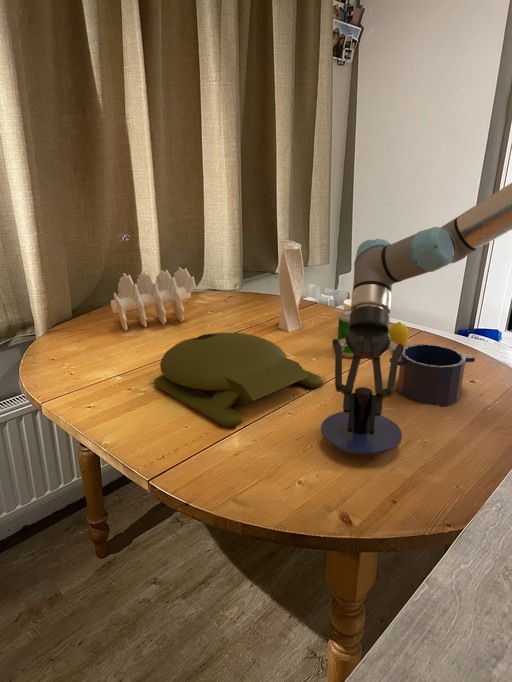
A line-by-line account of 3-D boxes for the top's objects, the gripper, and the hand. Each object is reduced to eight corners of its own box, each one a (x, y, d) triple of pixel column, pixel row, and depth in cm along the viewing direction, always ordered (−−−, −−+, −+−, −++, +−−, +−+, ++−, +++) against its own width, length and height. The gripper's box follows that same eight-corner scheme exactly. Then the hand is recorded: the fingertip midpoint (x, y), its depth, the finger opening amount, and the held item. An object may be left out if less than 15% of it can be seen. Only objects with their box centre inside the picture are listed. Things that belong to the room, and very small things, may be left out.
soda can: (334, 357, 135) (336, 315, 131) (339, 347, 142) (341, 307, 138) (362, 360, 133) (365, 318, 129) (365, 350, 140) (369, 309, 136)
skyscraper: (288, 334, 153) (290, 242, 143) (272, 327, 158) (273, 238, 148) (306, 328, 157) (310, 239, 147) (290, 322, 163) (292, 236, 153)
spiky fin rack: (115, 338, 161) (187, 322, 172) (125, 331, 145) (203, 313, 156) (100, 283, 161) (173, 271, 172) (109, 270, 145) (189, 257, 156)
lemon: (404, 354, 137) (407, 326, 135) (384, 350, 140) (386, 323, 137) (409, 347, 142) (412, 320, 139) (389, 344, 144) (392, 317, 142)
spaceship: (327, 385, 119) (329, 347, 115) (228, 433, 99) (227, 388, 96) (232, 346, 143) (231, 314, 139) (137, 378, 123) (133, 341, 120)
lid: (414, 454, 86) (419, 407, 83) (331, 460, 85) (334, 413, 82) (384, 413, 100) (388, 371, 97) (313, 418, 99) (314, 376, 95)
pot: (482, 404, 110) (489, 364, 107) (399, 409, 108) (403, 369, 105) (452, 378, 123) (458, 342, 119) (378, 382, 121) (381, 345, 117)
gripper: (411, 324, 99) (406, 441, 89) (329, 319, 102) (316, 431, 93) (415, 306, 92) (410, 431, 83) (327, 301, 95) (313, 420, 86)
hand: (360, 431), depth 88 cm, fingers closed on lid, 3 cm apart
